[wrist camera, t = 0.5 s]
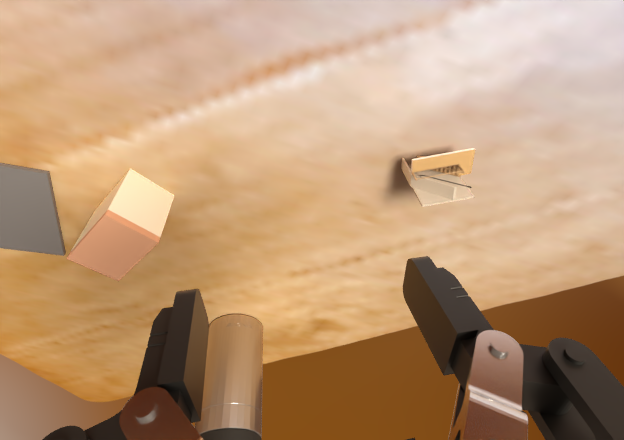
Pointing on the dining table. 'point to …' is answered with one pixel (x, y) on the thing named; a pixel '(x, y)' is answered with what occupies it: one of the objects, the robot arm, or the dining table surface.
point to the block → (123, 227)
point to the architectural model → (440, 176)
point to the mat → (28, 211)
